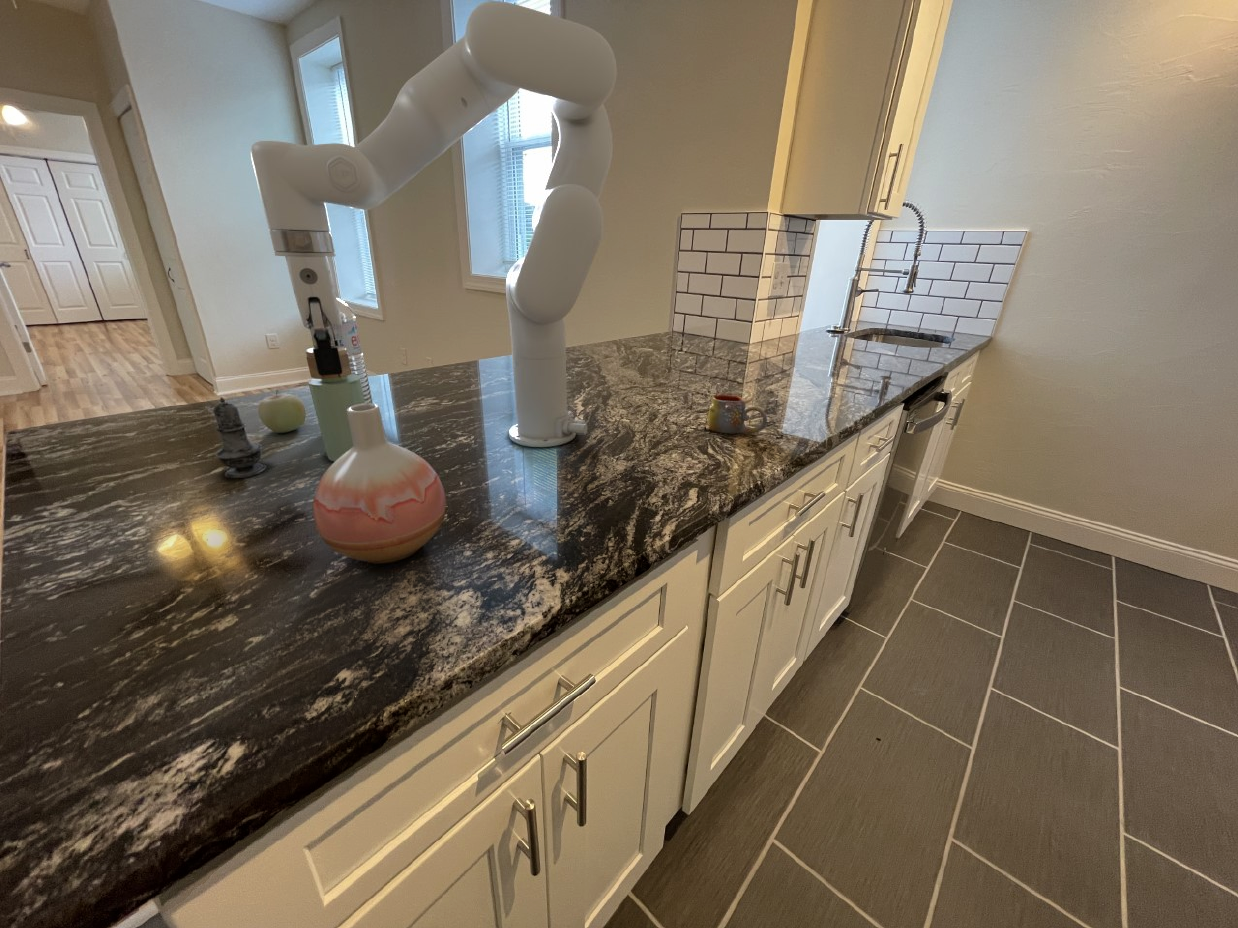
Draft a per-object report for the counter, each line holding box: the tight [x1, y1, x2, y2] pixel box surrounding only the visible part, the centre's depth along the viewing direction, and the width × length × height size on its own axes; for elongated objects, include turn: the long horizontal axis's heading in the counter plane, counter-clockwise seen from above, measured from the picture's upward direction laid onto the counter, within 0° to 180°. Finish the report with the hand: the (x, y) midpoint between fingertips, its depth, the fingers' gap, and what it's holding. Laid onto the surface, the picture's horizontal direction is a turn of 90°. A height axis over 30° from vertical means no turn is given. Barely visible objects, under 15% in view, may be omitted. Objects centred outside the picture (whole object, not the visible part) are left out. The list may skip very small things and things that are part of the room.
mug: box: [706, 394, 768, 435], centre depth 95 cm, size 12×7×7 cm, turn 50°
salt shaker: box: [212, 397, 267, 479], centre depth 73 cm, size 6×6×12 cm
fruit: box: [257, 389, 307, 434], centre depth 91 cm, size 8×7×8 cm
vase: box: [312, 403, 447, 565], centre depth 54 cm, size 14×14×18 cm
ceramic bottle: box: [308, 374, 365, 462], centre depth 79 cm, size 7×7×17 cm
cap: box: [305, 346, 351, 379], centre depth 76 cm, size 6×6×4 cm
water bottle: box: [333, 297, 374, 404], centre depth 94 cm, size 7×7×25 cm
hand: (330, 368), depth 77 cm, fingers closed on cap, 5 cm apart
